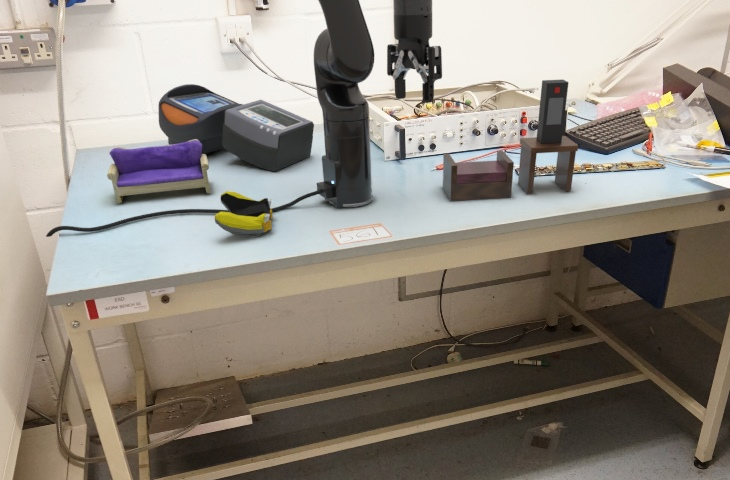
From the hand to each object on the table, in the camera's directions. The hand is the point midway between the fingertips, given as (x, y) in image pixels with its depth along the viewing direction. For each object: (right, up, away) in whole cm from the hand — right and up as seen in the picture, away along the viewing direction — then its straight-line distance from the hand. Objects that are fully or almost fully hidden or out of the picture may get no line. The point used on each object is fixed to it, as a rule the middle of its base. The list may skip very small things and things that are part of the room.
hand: (414, 100), depth 134 cm
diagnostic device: (-44, -1, +36) cm, 57 cm away
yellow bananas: (-33, -28, -7) cm, 43 cm away
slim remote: (+29, -7, +4) cm, 30 cm away
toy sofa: (-55, -17, +12) cm, 59 cm away
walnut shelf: (+29, -16, +9) cm, 34 cm away
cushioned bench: (+14, -17, +7) cm, 23 cm away
